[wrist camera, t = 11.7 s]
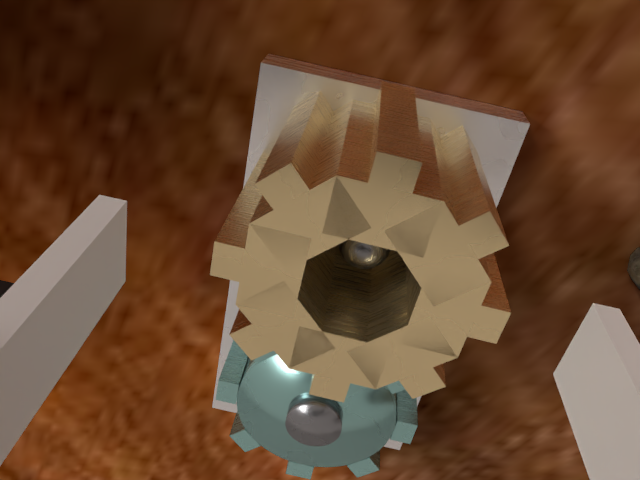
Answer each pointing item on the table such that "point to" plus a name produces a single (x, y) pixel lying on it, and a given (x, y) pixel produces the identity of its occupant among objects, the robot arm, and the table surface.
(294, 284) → the gear
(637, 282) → the grey rock
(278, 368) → the carrier
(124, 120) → the table surface
